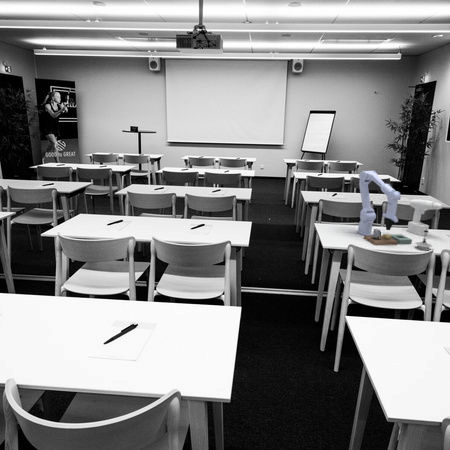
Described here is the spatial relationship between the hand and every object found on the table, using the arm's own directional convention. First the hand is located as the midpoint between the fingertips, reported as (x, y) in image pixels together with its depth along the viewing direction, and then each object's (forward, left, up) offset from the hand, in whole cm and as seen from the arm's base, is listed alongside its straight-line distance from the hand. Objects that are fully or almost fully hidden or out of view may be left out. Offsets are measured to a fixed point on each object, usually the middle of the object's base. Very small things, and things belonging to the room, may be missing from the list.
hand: (388, 229), depth 264 cm
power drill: (-15, +37, -8) cm, 40 cm away
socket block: (0, -4, -8) cm, 9 cm away
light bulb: (+15, +17, -8) cm, 24 cm away
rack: (0, +10, -8) cm, 13 cm away
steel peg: (0, -8, -8) cm, 11 cm away
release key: (0, 0, -8) cm, 8 cm away
